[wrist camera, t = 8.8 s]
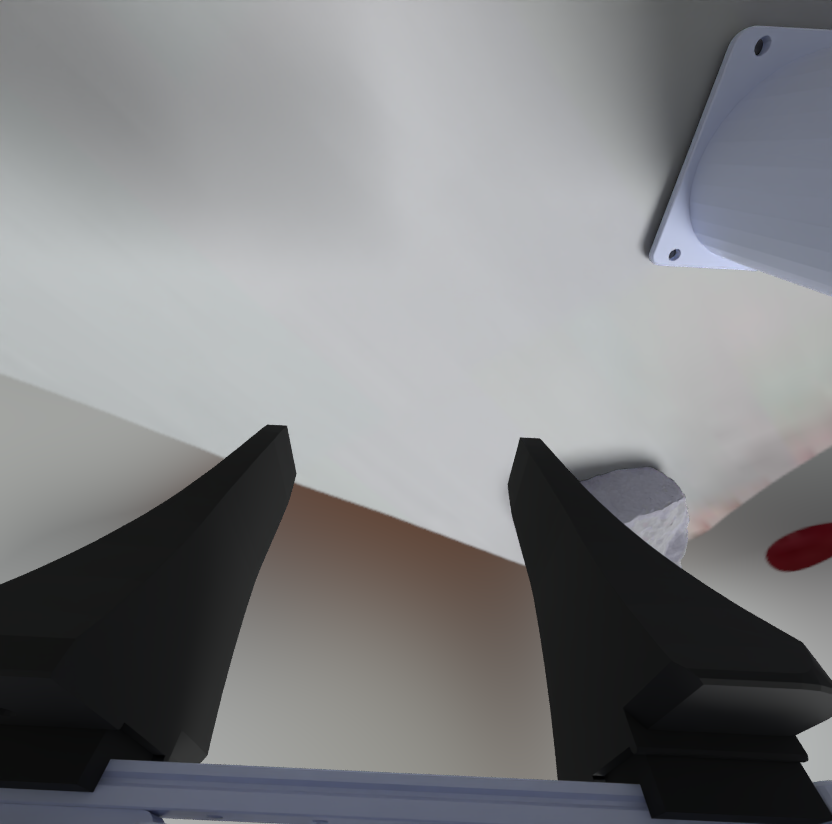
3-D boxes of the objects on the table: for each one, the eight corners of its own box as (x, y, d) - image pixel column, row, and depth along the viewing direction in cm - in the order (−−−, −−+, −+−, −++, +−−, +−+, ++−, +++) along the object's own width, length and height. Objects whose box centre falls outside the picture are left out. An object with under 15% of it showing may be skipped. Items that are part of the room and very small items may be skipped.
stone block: (652, 438, 27) (522, 490, 27) (707, 485, 23) (554, 545, 23) (650, 532, 33) (546, 572, 34) (693, 581, 29) (574, 625, 30)
